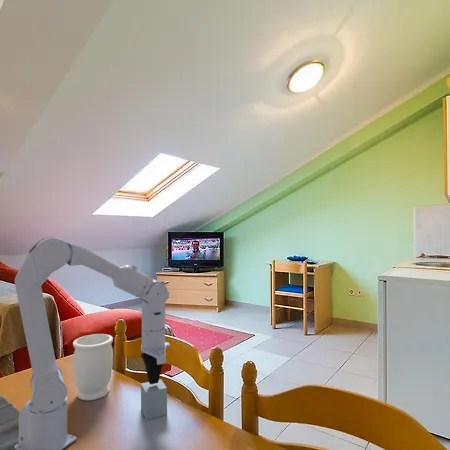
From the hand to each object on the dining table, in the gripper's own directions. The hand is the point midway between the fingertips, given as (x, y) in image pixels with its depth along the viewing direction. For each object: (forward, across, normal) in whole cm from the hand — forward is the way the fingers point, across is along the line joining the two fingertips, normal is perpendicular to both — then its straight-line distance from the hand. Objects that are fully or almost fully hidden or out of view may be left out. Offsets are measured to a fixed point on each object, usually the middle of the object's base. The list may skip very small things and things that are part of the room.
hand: (153, 382), depth 83 cm
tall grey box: (+7, 0, 0) cm, 7 cm away
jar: (+8, +17, +12) cm, 22 cm away
